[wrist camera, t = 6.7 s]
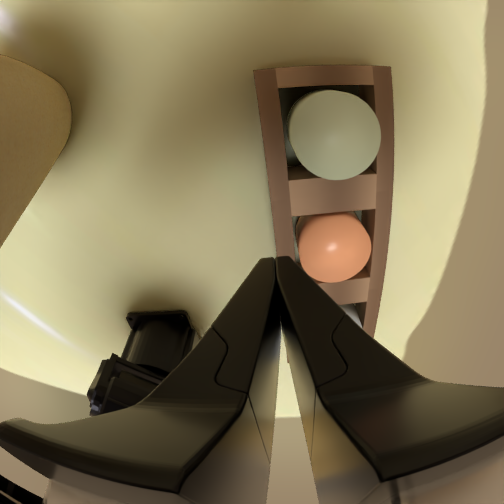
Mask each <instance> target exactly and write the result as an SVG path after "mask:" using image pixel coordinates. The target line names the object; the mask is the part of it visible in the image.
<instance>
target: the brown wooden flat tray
mask: <svg viewBox="0 0 504 504" xmlns="http://www.w3.org/2000/svg"><path fill="white" fill-rule="evenodd" d="M253 72H254V79H255V86H256V93H257V100H258V107H259V114H260V121H261V129H262V136H263V143H264V151H265V159H266V167H267V175H268V183H269V191H270V199H271V207H272V216H273V224H274V233H275V242H276V251H277V257H278V256H290V257H291V258H292V259H293V260H294V261H295V252H294V238H293V226H292V217H293V216H302V215H312V214H323V213H333V212H344V211H355V210H362V219H361V224H362V225H363V227H364V228H365V230H366V232H367V233H368V235H369V237H370V241H371V253H370V257H369V259H368V261H367V263H366V265H365V266H364V267H363V268H362V270H361V271H360V272H358V273H357V274H356V275H354V276H353V277H351V278H349V279H347V280H344V281H341V282H334V283H327V282H321V281H318V280H316V279H314V278H312V277H311V276H310V277H311V278H312V279H313V280H314V281H315V282H316V283H317V284H318V285H319V286H320V287H321V288H322V289H323V290H324V291H325V292H326V293H327V294H328V295H329V296H330V297H331V298H332V299H333V300H334V301H335V302H336V303H337V304H338V305H344V304H351V303H355V308H356V310H357V313H358V316H359V319H360V322H361V325H362V328H363V330H364V331H365V332H366V333H368V334H369V335H370V336H371V337H372V338H374V333H375V328H376V323H377V318H378V313H379V307H380V301H381V295H382V289H383V283H384V276H385V269H386V261H387V253H388V244H389V235H390V224H391V212H392V197H393V177H394V109H393V90H392V76H391V67H387V66H368V65H315V66H295V67H282V68H271V69H261V70H253ZM318 85H358V87H359V98H360V99H362V100H363V101H364V102H366V103H367V104H368V105H369V106H370V108H371V109H372V110H373V112H374V113H375V115H376V117H377V119H378V122H379V125H380V130H381V142H380V147H379V151H378V153H377V155H376V157H375V159H374V161H373V162H372V163H371V164H370V166H369V167H368V168H367V169H366V170H364V171H363V172H362V173H360V174H358V175H357V176H354V177H352V178H349V179H344V180H329V179H324V178H321V177H319V176H317V175H315V174H313V173H311V172H310V171H309V170H307V169H306V168H305V167H304V166H303V165H299V166H289V167H287V161H286V151H285V142H284V133H283V125H282V116H281V108H280V100H279V92H278V88H287V87H300V86H318ZM297 264H298V265H299V266H300V267H301V268H302V269H303V267H302V265H301V262H298V263H297ZM303 270H304V269H303ZM304 271H305V270H304ZM287 362H288V363H289V360H288V355H287Z"/></svg>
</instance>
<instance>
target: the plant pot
mask: <svg viewBox="0 0 504 504" xmlns="http://www.w3.org/2000/svg"><path fill="white" fill-rule="evenodd" d="M71 122H72V112H71V105H70V101H69V98H68V95H67V93H66V91H65V90H64V88H63V87H62V86H61V85H60V84H59V83H58V82H57V81H56V80H54V79H53V78H51V77H50V76H48V75H46V74H45V73H43V72H41V71H39V70H37V69H36V68H34V67H31V66H29V65H27V64H25V63H23V62H20V61H18V60H15V59H13V58H10V57H7V56H4V55H1V54H0V248H1V246H2V245H3V243H4V241H5V240H6V238H7V237H8V235H9V234H10V232H11V231H12V229H13V227H14V226H15V224H16V223H17V221H18V220H19V218H20V216H21V215H22V213H23V212H24V210H25V209H26V207H27V206H28V204H29V203H30V201H31V199H32V198H33V196H34V195H35V193H36V192H37V190H38V189H39V187H40V185H41V184H42V182H43V181H44V179H45V177H46V176H47V174H48V173H49V171H50V169H51V168H52V166H53V164H54V163H55V161H56V159H57V158H58V156H59V155H60V153H61V151H62V149H63V148H64V146H65V144H66V142H67V140H68V137H69V134H70V130H71Z"/></svg>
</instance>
